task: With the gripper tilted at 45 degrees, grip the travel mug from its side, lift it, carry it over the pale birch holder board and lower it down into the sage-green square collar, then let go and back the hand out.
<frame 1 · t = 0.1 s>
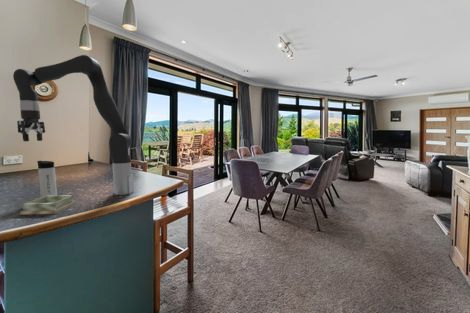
hand: (33, 141, 120), 29 cm above the countertop, tool pointing down, fingers open, 8 cm apart
travel mug: (49, 201, 113), on the countertop
mug holder: (50, 208, 102), on the countertop
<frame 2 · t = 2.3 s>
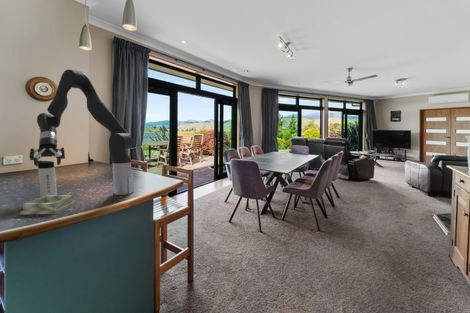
hand: (47, 164, 116), 17 cm above the countertop, tool tilted 45°, fingers open, 8 cm apart
nothing on the countertop moved.
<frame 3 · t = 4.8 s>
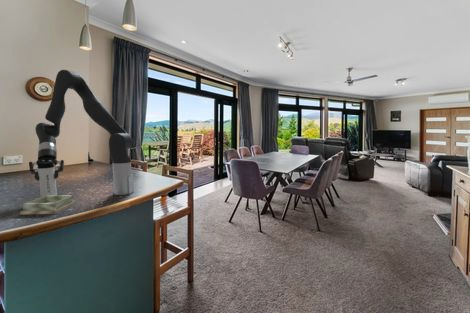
hand: (46, 178, 110), 11 cm above the countertop, tool tilted 45°, fingers closed on travel mug, 6 cm apart
travel mug: (49, 200, 113), on the countertop, touching gripper
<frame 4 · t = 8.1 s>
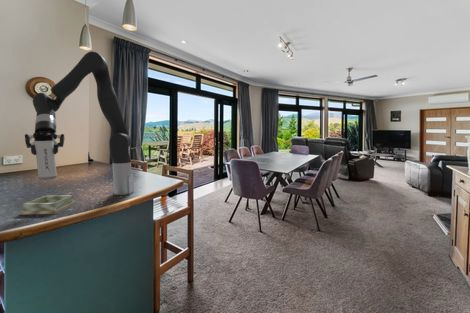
hand: (44, 153, 98), 25 cm above the countertop, tool tilted 45°, fingers closed on travel mug, 6 cm apart
travel mug: (47, 178, 100), point 13 cm above the countertop, touching gripper
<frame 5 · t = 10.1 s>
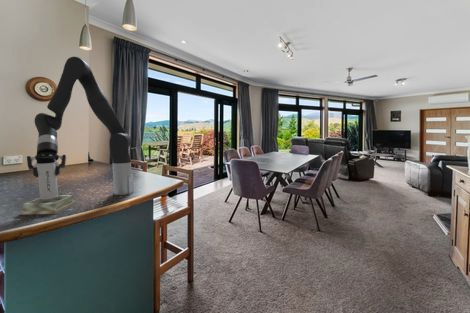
hand: (46, 175, 99), 15 cm above the countertop, tool tilted 45°, fingers closed on travel mug, 6 cm apart
travel mug: (49, 200, 101), point 4 cm above the countertop, touching gripper
when the fingers open (14 cm above the countertop, at t = 11.6 s): travel mug drops 1 cm, resting on mug holder.
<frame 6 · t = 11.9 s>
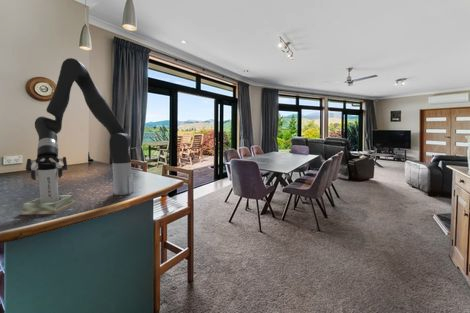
hand: (47, 177, 99), 14 cm above the countertop, tool tilted 45°, fingers open, 8 cm apart
travel mug: (49, 206, 102), point 1 cm above the countertop, touching mug holder
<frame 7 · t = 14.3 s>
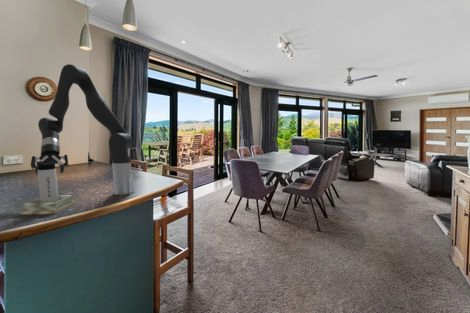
hand: (50, 173, 109), 14 cm above the countertop, tool tilted 45°, fingers open, 8 cm apart
nothing on the countertop moved.
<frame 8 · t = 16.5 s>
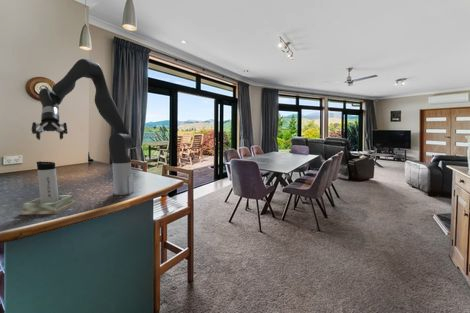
hand: (50, 138, 114), 31 cm above the countertop, tool tilted 45°, fingers open, 8 cm apart
nothing on the countertop moved.
at the end: travel mug 0.3 cm off-centre on the mug holder, point 1.0 cm above the mug holder's base; travel mug tilted 0°; the gripper is holding nothing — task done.
